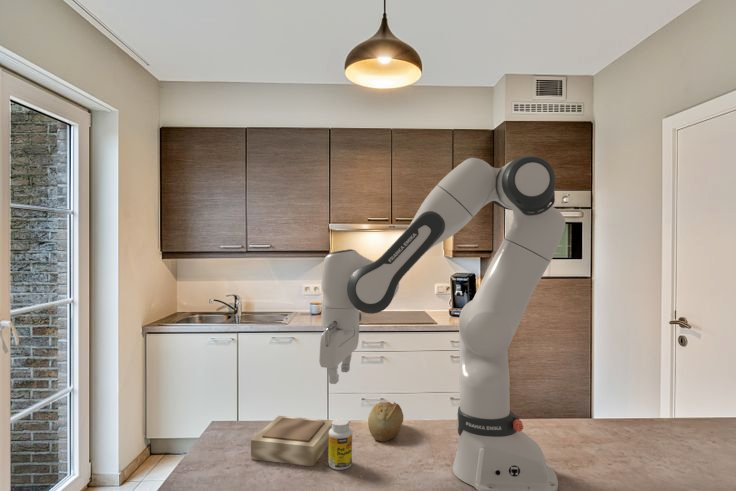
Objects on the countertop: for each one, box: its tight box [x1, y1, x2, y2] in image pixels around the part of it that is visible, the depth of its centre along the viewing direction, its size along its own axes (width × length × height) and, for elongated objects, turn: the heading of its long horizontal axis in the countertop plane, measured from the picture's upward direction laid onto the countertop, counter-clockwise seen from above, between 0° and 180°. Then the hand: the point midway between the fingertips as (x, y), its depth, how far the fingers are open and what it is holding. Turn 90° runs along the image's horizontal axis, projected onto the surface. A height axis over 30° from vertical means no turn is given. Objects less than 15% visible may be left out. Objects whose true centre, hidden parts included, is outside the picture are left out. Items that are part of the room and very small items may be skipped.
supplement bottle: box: [327, 418, 353, 471], centre depth 106 cm, size 6×6×10 cm
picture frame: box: [250, 415, 334, 467], centre depth 115 cm, size 16×16×5 cm
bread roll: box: [367, 401, 404, 442], centre depth 125 cm, size 10×15×8 cm, turn 172°
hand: (339, 377), depth 106 cm, fingers open, 8 cm apart
